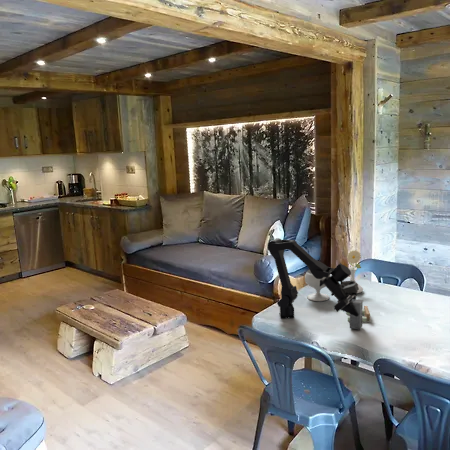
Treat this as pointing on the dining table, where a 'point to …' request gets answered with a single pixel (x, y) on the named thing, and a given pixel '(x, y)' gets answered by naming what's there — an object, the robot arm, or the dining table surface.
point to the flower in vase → (354, 258)
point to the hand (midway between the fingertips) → (359, 314)
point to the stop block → (357, 321)
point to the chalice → (315, 287)
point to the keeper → (364, 312)
